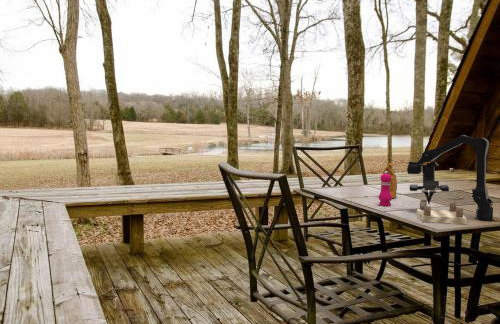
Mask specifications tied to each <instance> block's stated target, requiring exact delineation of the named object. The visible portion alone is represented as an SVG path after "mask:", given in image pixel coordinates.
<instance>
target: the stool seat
mask: <svg viewBox="0 0 500 324" xmlns="http://www.w3.org/2000/svg"><path fill="white" fill-rule="evenodd" d="M416 215H417V217H418V218H419V220H420V221H421V223H428V222H435V223H434V224H445V223H451V224H450V225H463V224H466V225H467V217H466V216H465V215H464V208H463V207H457V202H449V209H440V208H439V209H437V208H432V206H430V205H429V206H428V205H427V206H424V210H422V209H420V207H419V208H416Z"/></svg>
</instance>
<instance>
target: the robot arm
mask: <svg viewBox="0 0 500 324" xmlns="http://www.w3.org/2000/svg"><path fill="white" fill-rule="evenodd" d="M462 144H465V145H468V146H471V147H474V148H473V149H474V153H475V157H476V184H475V185H476V186H475V187H474V188H472V189H471V191H472V196H471V198H472V199H473V202H474V203H476V205H477V206H476V209H475V218H476V219H477V220H479V221H490V222H491V221H492V222H494V219H493V218H494V216H493V215H494V207H493V204H494V201H493V200H492V199H490V197H489V191H488V188H487V181H486V179H487V154H488V152H489V146H490V142H489V140H488V139H487V138H485V137H478V138H477V137H472V136H467V135H466V134H461V135H459V136H458V137H456V138H454V139H452V140H449V141H447V142H446V143H444V144H442V145H440V146H439V147H435V148H432V149H429V150H428V149H427V150H425V151H423V152H422V153H421V158H420V159H419V160H418V161H408V164H407V168H406V171H407V174H408V175H420V174H421V173H422V185H418V184H410V185H409V192H417V191H418V190H421V193H424V195H425V197H426V198H425V199H426V200H427V203H428V205H430V203H431V200H432V197H433V195H434V194H436V193H437V191H438V190H439V191H442V192H449V191H450V187H449V186H448V184H440V181H439V180H435V175H436V174H435V173H436V172H435V167H438V166H439V164H438V163H437V162H436V161H435V160H437V159H438V158H439V157H441V155H442V154H444V153H447V152H449V151H451V150H452V149H454V148H456V147H459V146H461V145H462Z"/></svg>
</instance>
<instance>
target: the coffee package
mask: <svg viewBox="0 0 500 324" xmlns="http://www.w3.org/2000/svg"><path fill="white" fill-rule="evenodd" d="M393 166H394V163H393V162H390V163H387V166H386V167H385V168H384V170H383V172H382V174H385V173H384V172H385V171H387V172H388V173H387V174H389V175H391V181H390V185H389V190H390V193H391V196H392V199H394V198H395V197H396V196H397V191H398V181H397V175H396V174H395V172H394V170H393ZM381 182H382V181H381V180H380V191H381V190H382V184H381Z"/></svg>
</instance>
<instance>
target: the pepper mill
mask: <svg viewBox="0 0 500 324" xmlns="http://www.w3.org/2000/svg"><path fill="white" fill-rule="evenodd" d="M384 173H385V174H383V173H382V174H381V175H380V177H379V178H380V185H381V184H382V190H381V189H380V192H379V194H378V200H379V202H378V203H379V206H380V207H391V205H392V203H391V201H392V199H393V198H392V196H391V193H390V190H389V185H390V181H391V175H389V174H387V173H388V172H387V171H385V172H384ZM381 181H382V182H381Z"/></svg>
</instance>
